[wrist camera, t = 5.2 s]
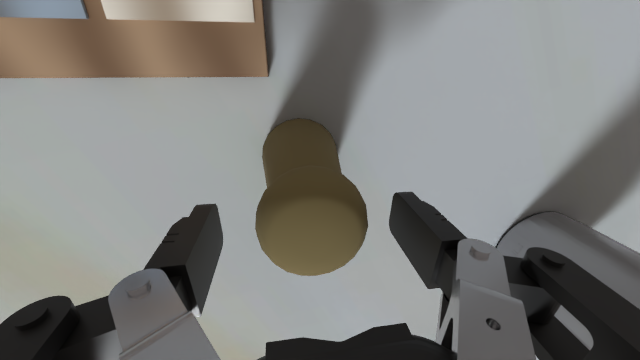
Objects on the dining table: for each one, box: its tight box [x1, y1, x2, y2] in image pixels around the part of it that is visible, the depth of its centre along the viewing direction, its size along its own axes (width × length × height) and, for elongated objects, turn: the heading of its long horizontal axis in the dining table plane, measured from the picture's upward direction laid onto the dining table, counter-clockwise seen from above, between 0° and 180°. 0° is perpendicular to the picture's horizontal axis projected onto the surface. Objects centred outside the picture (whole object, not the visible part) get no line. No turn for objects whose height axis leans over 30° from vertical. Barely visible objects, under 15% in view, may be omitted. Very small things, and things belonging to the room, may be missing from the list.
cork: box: [255, 118, 368, 276], centre depth 15 cm, size 6×6×11 cm
